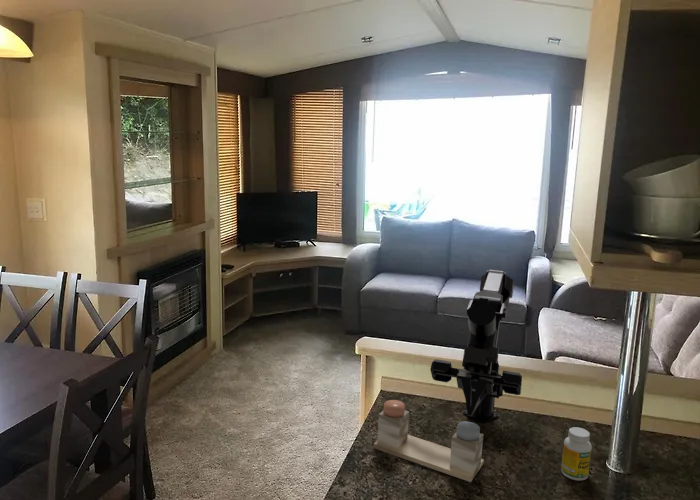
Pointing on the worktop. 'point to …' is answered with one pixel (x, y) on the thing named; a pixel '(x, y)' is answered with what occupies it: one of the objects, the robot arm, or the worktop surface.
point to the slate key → (468, 431)
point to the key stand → (429, 448)
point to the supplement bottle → (576, 454)
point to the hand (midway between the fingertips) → (469, 415)
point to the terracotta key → (394, 408)
